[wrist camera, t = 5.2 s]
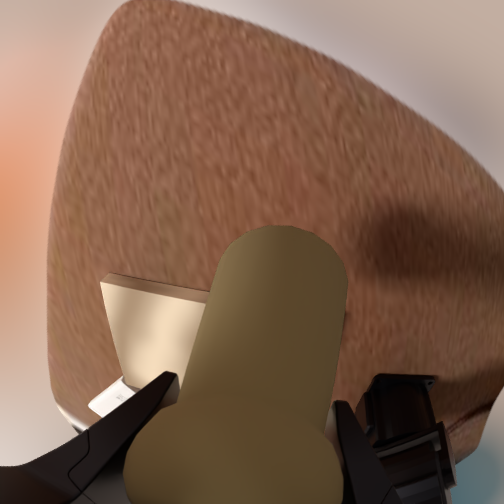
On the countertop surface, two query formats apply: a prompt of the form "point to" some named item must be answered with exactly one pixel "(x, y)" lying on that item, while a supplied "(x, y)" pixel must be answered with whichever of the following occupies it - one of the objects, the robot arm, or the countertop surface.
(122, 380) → the external hard drive
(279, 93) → the countertop surface
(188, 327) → the birch board
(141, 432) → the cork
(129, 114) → the countertop surface
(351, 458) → the robot arm
